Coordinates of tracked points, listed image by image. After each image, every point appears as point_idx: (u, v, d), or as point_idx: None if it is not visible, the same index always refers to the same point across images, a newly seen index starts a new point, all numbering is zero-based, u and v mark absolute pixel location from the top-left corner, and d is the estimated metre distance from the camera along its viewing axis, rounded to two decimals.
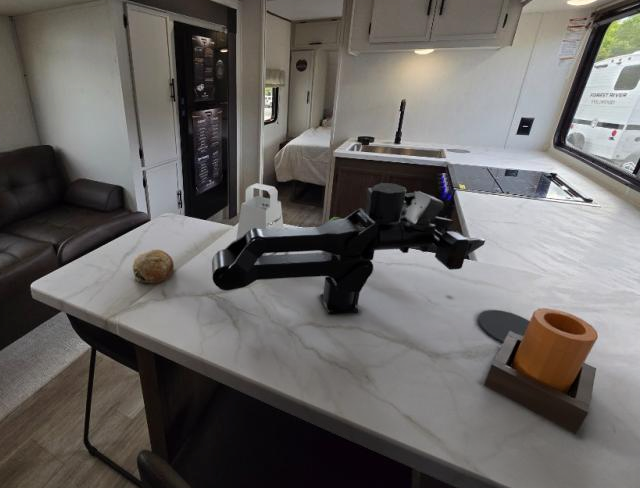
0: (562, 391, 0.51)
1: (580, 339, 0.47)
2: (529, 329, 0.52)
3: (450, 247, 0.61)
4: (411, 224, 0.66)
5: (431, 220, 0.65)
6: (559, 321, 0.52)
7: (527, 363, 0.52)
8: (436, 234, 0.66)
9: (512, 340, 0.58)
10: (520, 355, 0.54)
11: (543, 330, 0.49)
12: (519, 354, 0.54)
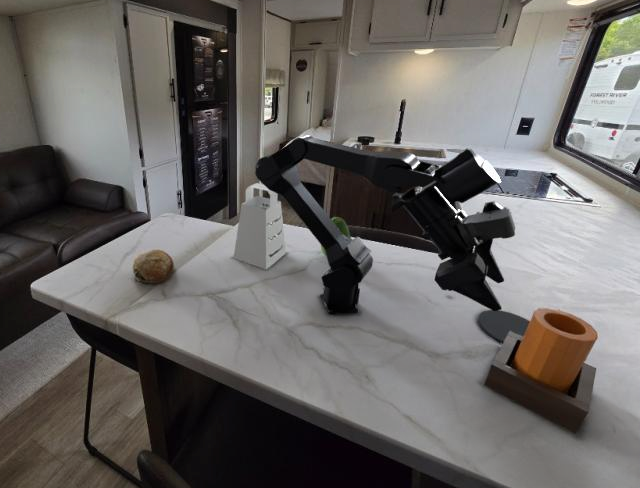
0: (562, 391, 0.51)
1: (580, 339, 0.47)
2: (529, 329, 0.52)
3: (460, 262, 0.49)
4: (460, 220, 0.53)
5: (481, 237, 0.51)
6: (559, 321, 0.52)
7: (527, 363, 0.52)
8: None
9: (512, 340, 0.58)
10: (520, 355, 0.54)
11: (543, 330, 0.49)
12: (519, 354, 0.54)
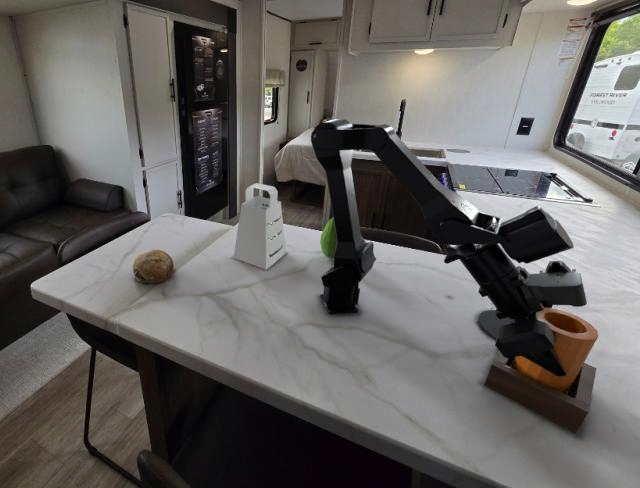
0: (562, 391, 0.51)
1: (580, 338, 0.47)
2: None
3: (527, 331, 0.46)
4: (524, 281, 0.50)
5: (547, 302, 0.48)
6: (560, 321, 0.52)
7: (528, 362, 0.52)
8: (531, 314, 0.50)
9: None
10: None
11: None
12: None
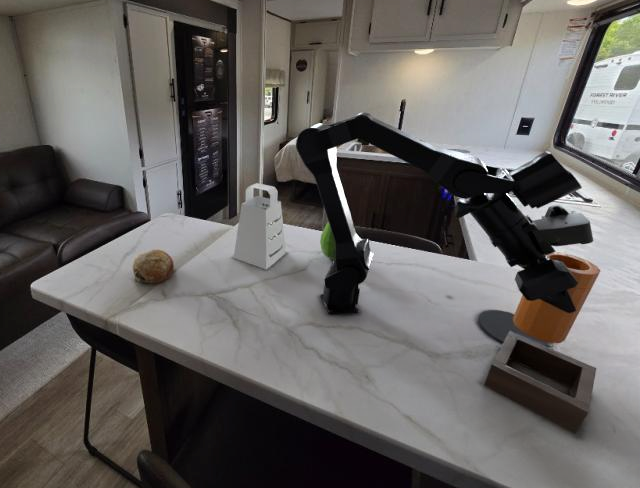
0: (569, 327, 0.54)
1: (588, 273, 0.50)
2: None
3: (551, 272, 0.47)
4: (535, 226, 0.51)
5: (558, 243, 0.50)
6: None
7: (538, 304, 0.54)
8: (541, 258, 0.52)
9: (512, 340, 0.58)
10: None
11: None
12: None
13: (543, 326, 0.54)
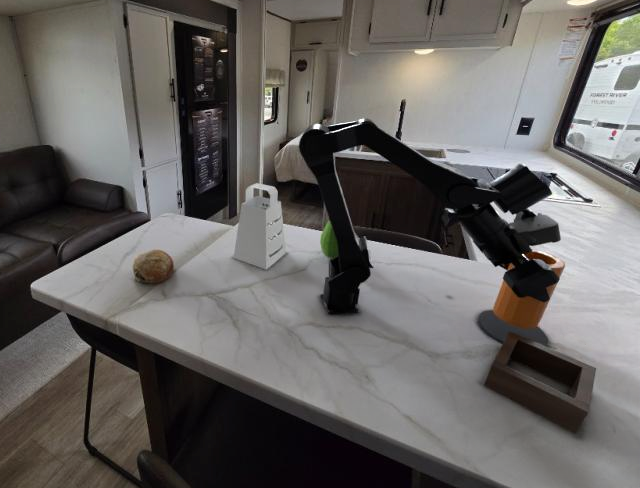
0: (542, 313, 0.62)
1: (558, 267, 0.58)
2: None
3: (538, 271, 0.53)
4: (515, 230, 0.58)
5: (534, 243, 0.57)
6: (529, 257, 0.63)
7: (517, 297, 0.61)
8: (519, 256, 0.59)
9: (512, 340, 0.58)
10: (508, 292, 0.63)
11: None
12: (507, 292, 0.63)
13: (523, 315, 0.62)
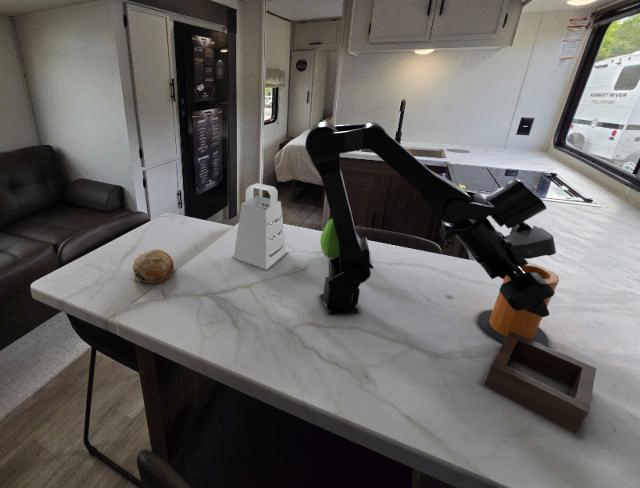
0: (537, 326, 0.63)
1: (552, 282, 0.59)
2: None
3: (533, 284, 0.54)
4: (511, 243, 0.59)
5: (530, 256, 0.58)
6: (524, 271, 0.64)
7: (512, 310, 0.63)
8: (518, 272, 0.59)
9: (512, 340, 0.58)
10: (504, 306, 0.64)
11: None
12: (502, 305, 0.64)
13: (518, 328, 0.63)
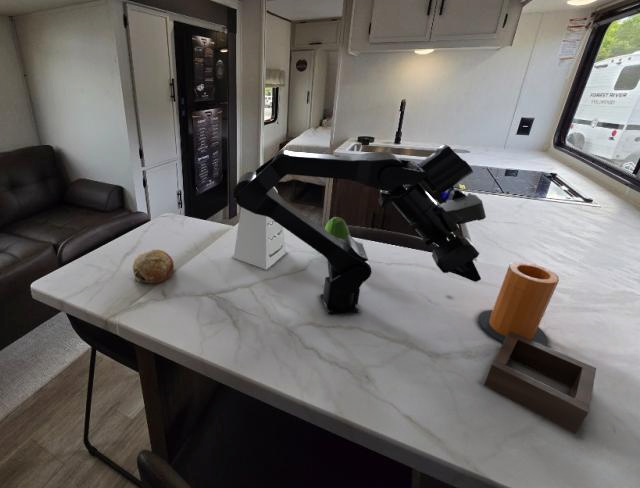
0: (537, 326, 0.63)
1: (552, 282, 0.59)
2: (509, 283, 0.62)
3: (459, 246, 0.55)
4: (443, 209, 0.60)
5: (461, 221, 0.60)
6: (524, 271, 0.64)
7: (513, 310, 0.63)
8: (451, 237, 0.61)
9: (512, 340, 0.58)
10: (504, 306, 0.64)
11: (525, 281, 0.60)
12: (502, 305, 0.64)
13: (518, 328, 0.63)
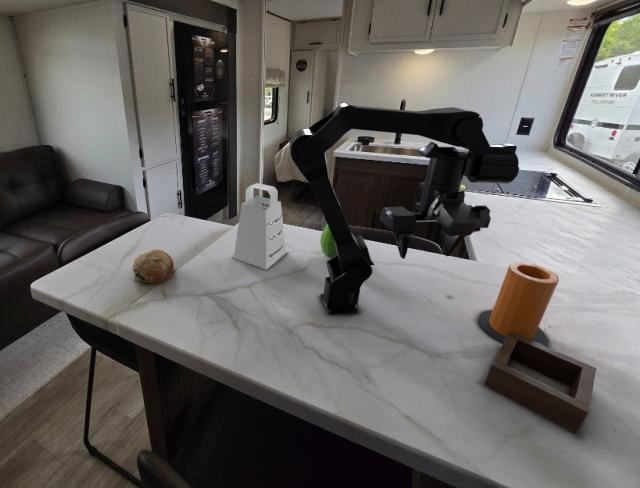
0: (537, 326, 0.63)
1: (552, 282, 0.59)
2: (509, 283, 0.62)
3: (396, 214, 0.62)
4: (441, 197, 0.59)
5: (437, 217, 0.60)
6: (524, 271, 0.64)
7: (513, 310, 0.63)
8: (423, 219, 0.63)
9: (512, 340, 0.58)
10: (504, 306, 0.64)
11: (525, 281, 0.60)
12: (502, 305, 0.64)
13: (518, 328, 0.63)
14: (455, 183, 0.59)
